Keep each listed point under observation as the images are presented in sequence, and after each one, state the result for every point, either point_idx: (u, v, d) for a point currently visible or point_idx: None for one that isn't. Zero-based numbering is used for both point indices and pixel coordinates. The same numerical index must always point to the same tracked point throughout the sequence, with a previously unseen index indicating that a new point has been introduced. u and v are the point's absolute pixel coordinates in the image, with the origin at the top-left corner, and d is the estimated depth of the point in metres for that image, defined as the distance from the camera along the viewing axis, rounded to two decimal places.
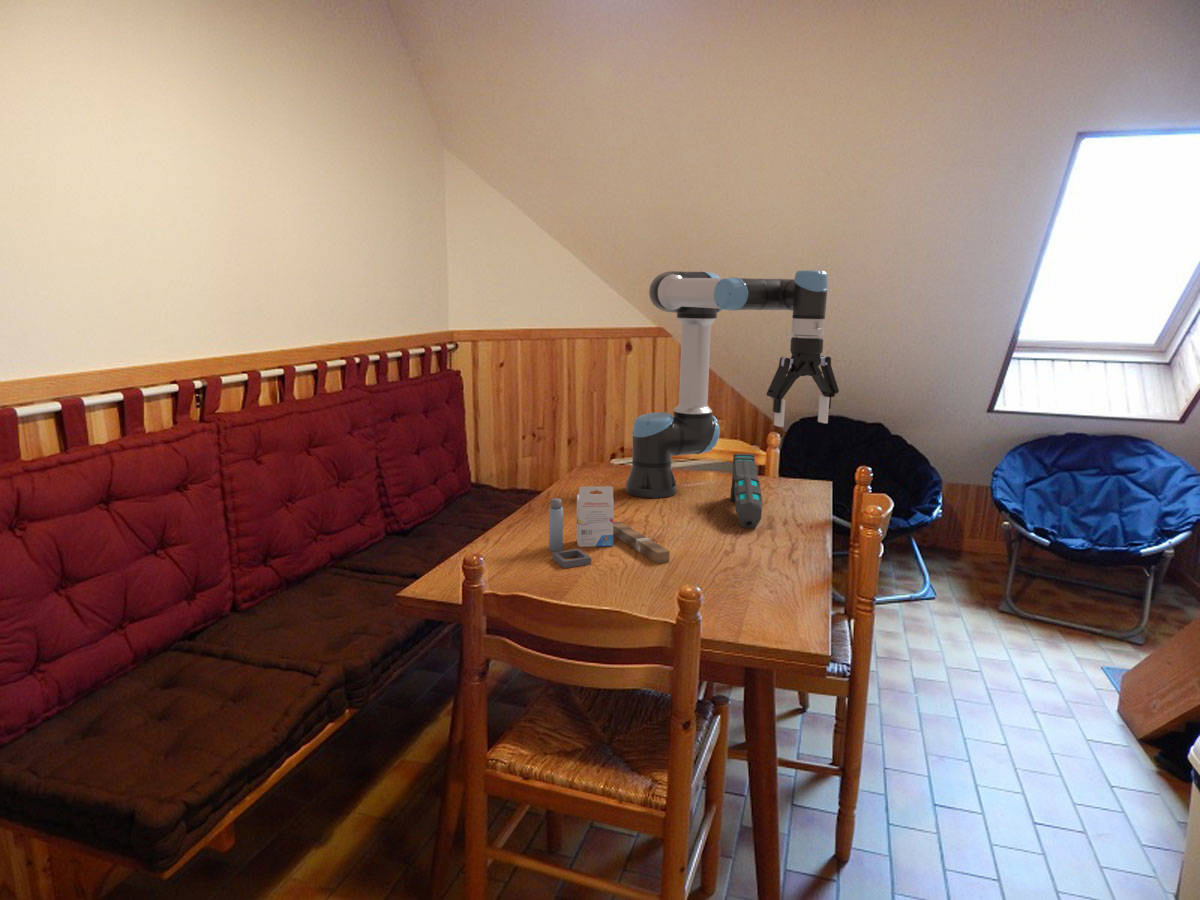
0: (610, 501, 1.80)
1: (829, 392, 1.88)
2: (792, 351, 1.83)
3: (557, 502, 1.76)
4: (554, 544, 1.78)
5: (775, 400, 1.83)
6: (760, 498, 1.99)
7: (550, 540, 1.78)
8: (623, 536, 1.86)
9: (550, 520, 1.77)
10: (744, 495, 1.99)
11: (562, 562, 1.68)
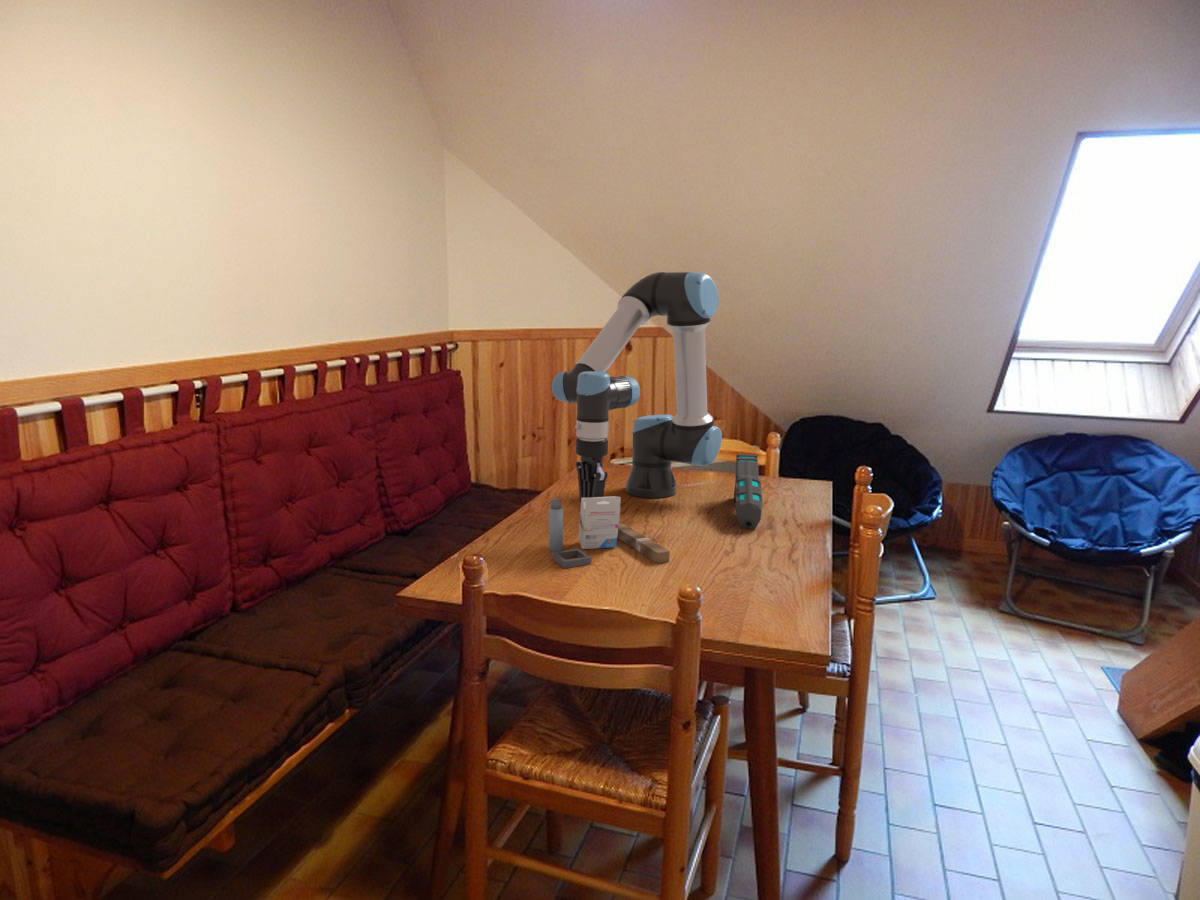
0: (617, 510, 1.75)
1: None
2: None
3: (557, 502, 1.76)
4: (554, 544, 1.78)
5: None
6: (760, 499, 1.99)
7: (550, 540, 1.78)
8: (623, 536, 1.86)
9: (550, 520, 1.77)
10: (745, 496, 1.99)
11: (562, 562, 1.68)
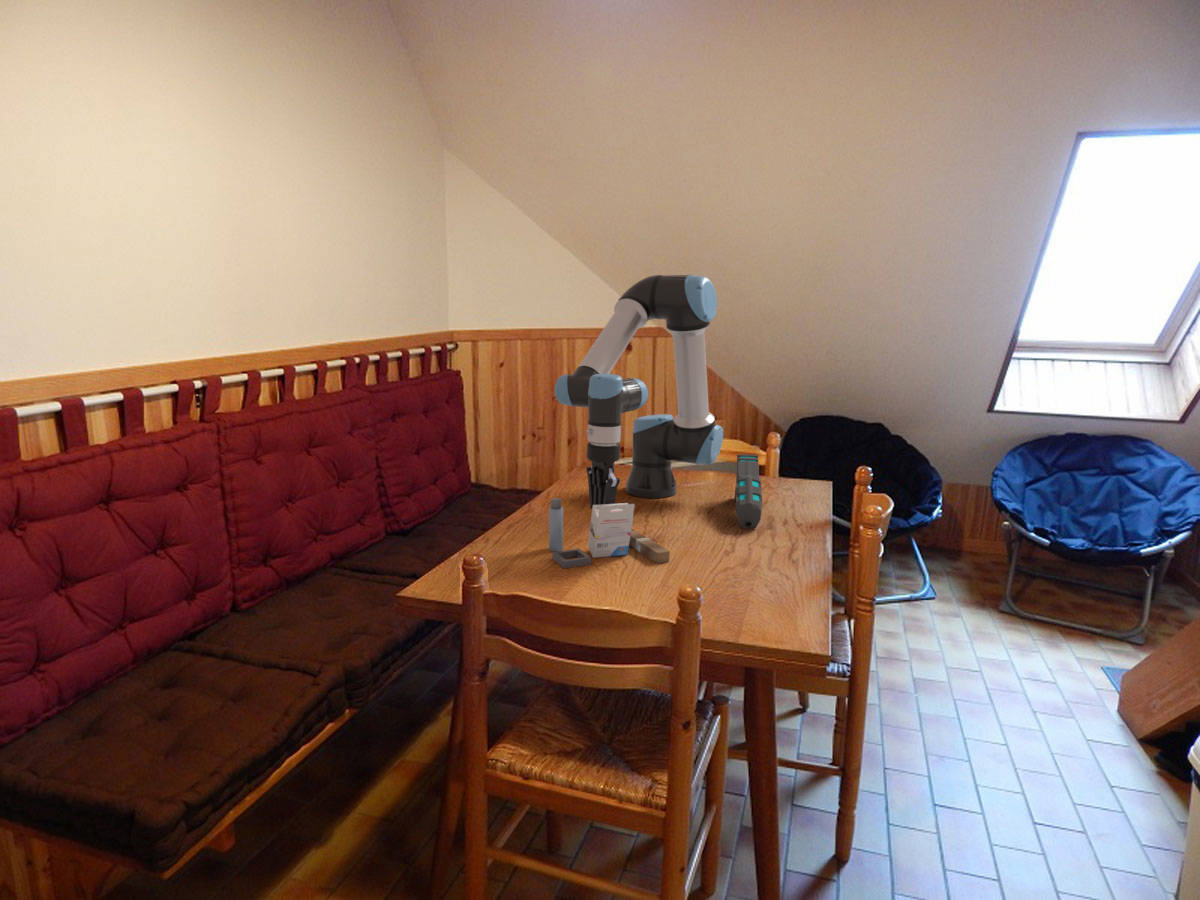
0: (630, 517, 1.70)
1: None
2: None
3: (557, 502, 1.76)
4: (554, 544, 1.78)
5: None
6: (760, 499, 1.98)
7: (550, 540, 1.78)
8: None
9: (550, 520, 1.77)
10: (745, 496, 1.99)
11: (562, 562, 1.68)
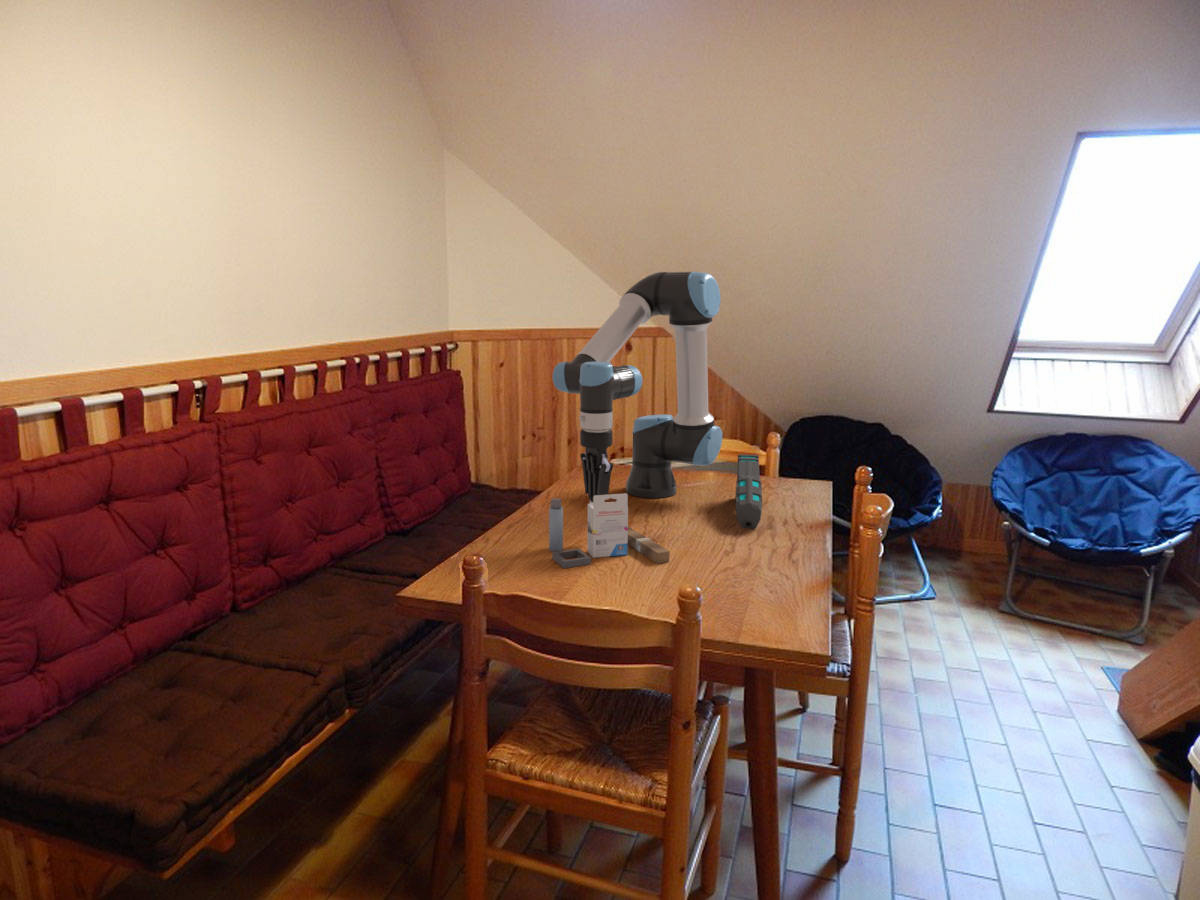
0: (625, 509, 1.74)
1: (593, 495, 1.80)
2: None
3: (557, 502, 1.76)
4: (554, 544, 1.78)
5: None
6: (760, 499, 1.98)
7: (550, 540, 1.78)
8: None
9: (550, 520, 1.77)
10: (745, 496, 1.99)
11: (562, 562, 1.68)
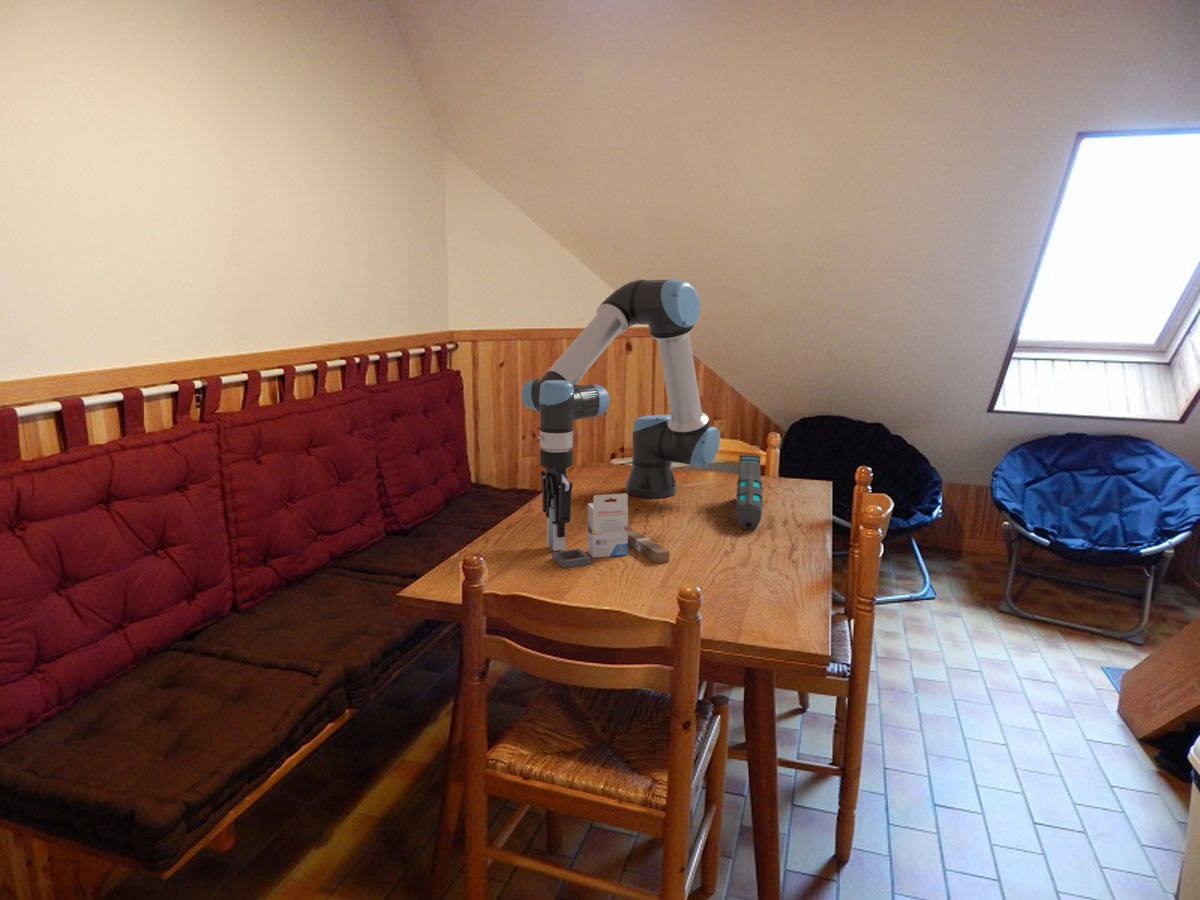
0: (625, 509, 1.74)
1: (555, 518, 1.75)
2: None
3: None
4: None
5: None
6: (761, 500, 1.98)
7: (550, 540, 1.78)
8: None
9: (550, 520, 1.77)
10: (745, 497, 1.98)
11: (562, 562, 1.68)
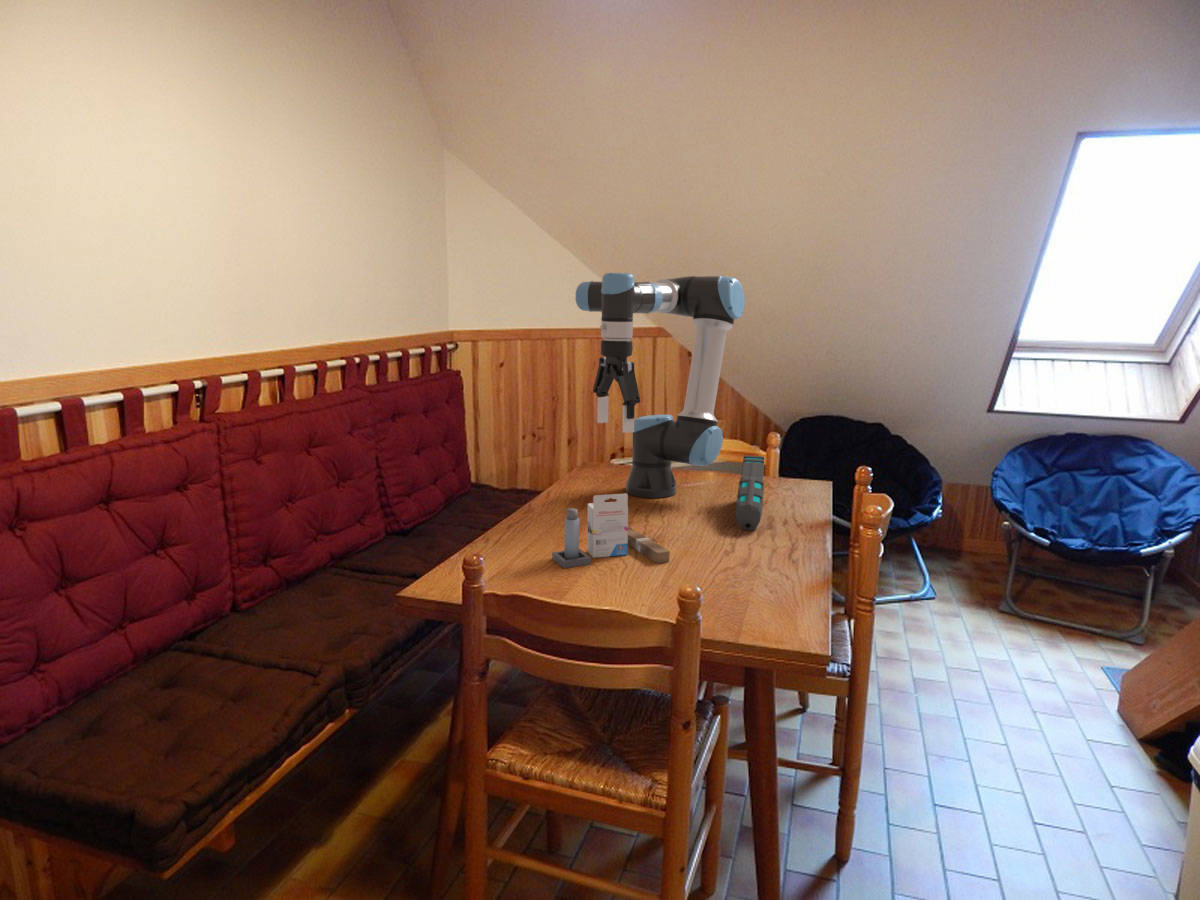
0: (625, 509, 1.74)
1: (624, 400, 1.79)
2: None
3: (573, 513, 1.68)
4: (569, 557, 1.70)
5: None
6: (761, 501, 1.97)
7: (565, 552, 1.70)
8: None
9: (566, 531, 1.69)
10: (745, 497, 1.98)
11: (562, 562, 1.68)
